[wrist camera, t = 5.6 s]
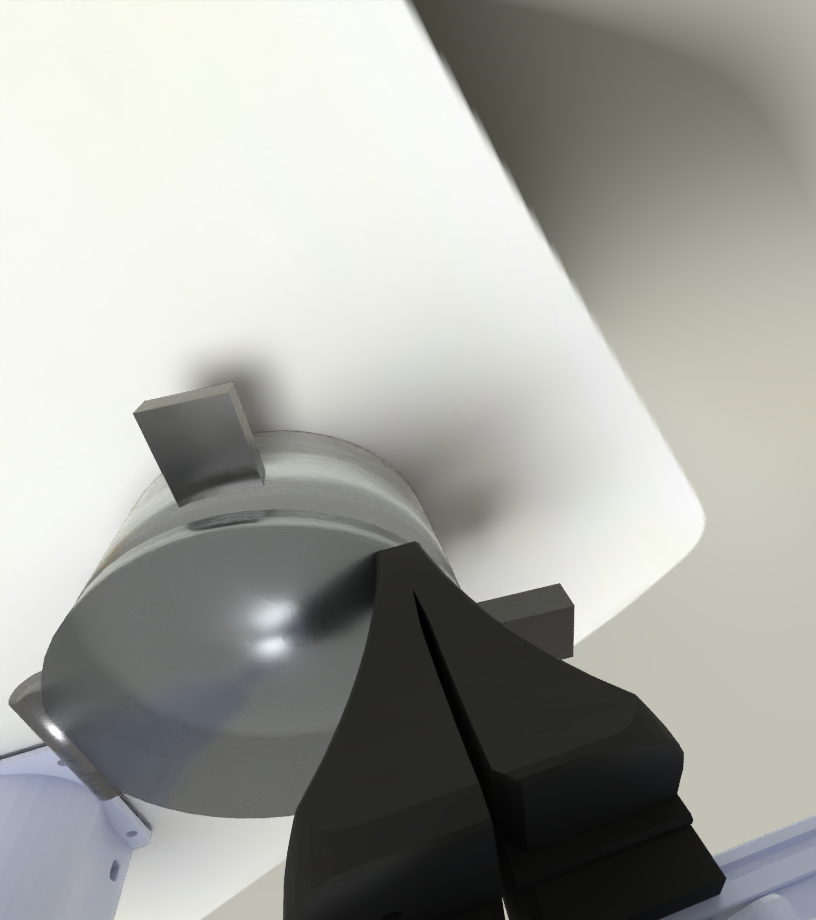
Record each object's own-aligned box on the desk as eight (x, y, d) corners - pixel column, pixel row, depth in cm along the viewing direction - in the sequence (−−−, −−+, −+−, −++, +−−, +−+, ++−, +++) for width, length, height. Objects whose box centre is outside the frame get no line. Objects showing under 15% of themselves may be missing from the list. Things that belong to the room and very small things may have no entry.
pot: (452, 662, 25) (484, 748, 20) (214, 737, 23) (196, 847, 19) (393, 323, 16) (428, 353, 12) (5, 405, 14) (-115, 473, 10)
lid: (558, 719, 18) (572, 748, 17) (154, 821, 17) (142, 859, 16) (558, 439, 12) (579, 458, 11) (-63, 574, 11) (-104, 609, 10)
